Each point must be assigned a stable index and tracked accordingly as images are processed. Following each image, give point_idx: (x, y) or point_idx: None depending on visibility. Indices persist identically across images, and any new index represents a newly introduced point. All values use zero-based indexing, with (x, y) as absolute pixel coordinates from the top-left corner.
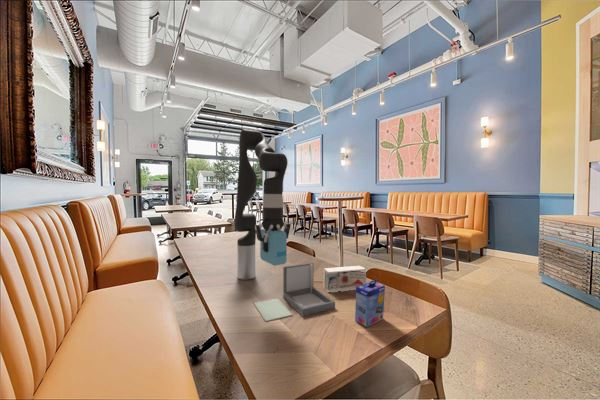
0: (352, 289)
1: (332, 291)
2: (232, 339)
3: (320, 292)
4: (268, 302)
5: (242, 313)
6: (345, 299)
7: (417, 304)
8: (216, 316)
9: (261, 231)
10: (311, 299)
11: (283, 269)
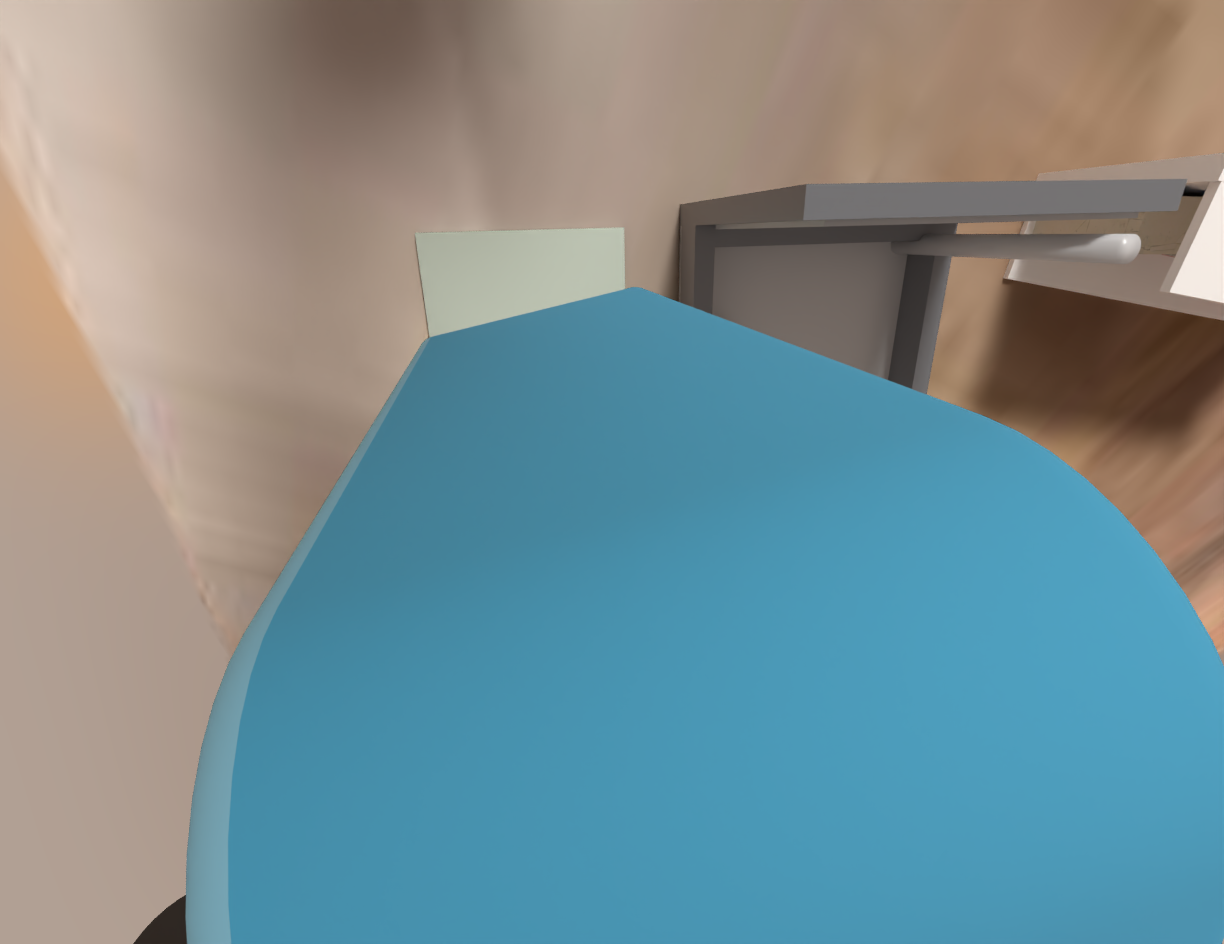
0: (1160, 307)
1: (1037, 281)
2: (249, 622)
3: (927, 354)
4: (533, 274)
5: (312, 360)
6: (1008, 419)
7: (1209, 585)
8: (98, 333)
9: (260, 894)
10: (835, 349)
11: (788, 190)
